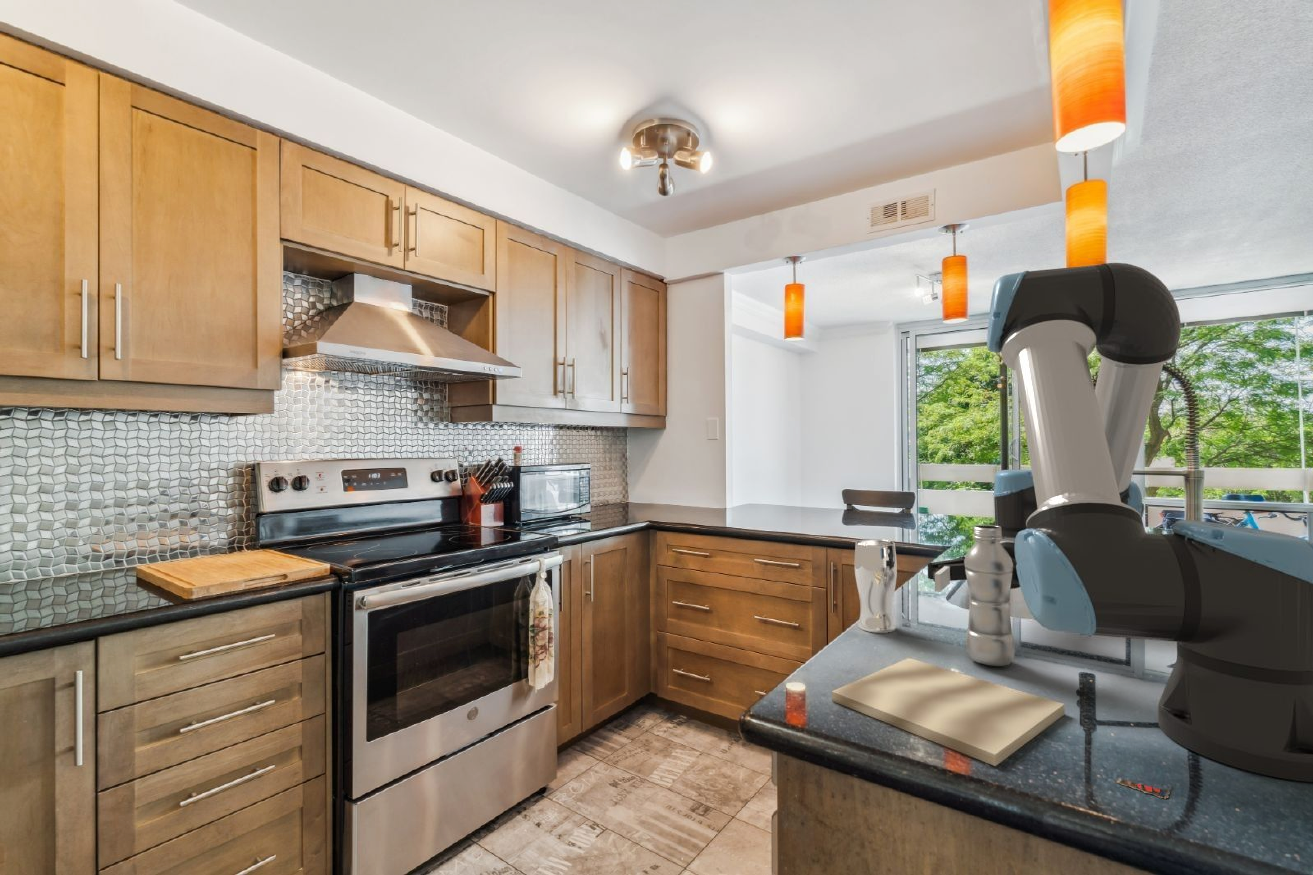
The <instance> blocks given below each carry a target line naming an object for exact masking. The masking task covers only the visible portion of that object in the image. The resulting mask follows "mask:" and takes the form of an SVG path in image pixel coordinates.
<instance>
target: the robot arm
mask: <svg viewBox="0 0 1313 875" xmlns="http://www.w3.org/2000/svg"><path fill="white" fill-rule="evenodd" d="M988 316H989V317H988V324H987V336H986V337H987V340H986V347H987V350H988V351H989V352H992V353H996V354H999V353H1000V354H1001V355H1000V356H1001V360H1002V361H1003V363H1004V365H1005V366H1006V367H1007V368H1008V369H1011V370H1012V371H1015V374H1016V380H1017V381H1016V382H1017V386H1018V387H1017V388H1018V393H1019V398H1020V404H1021V405H1020V406H1021V412H1022V417H1023V425H1024V431H1025V436H1026V443H1027V444H1026V445H1027V449H1028V455H1029V463H1030V468H1031V469H1001V470H999V471H997V472H996V473H995V474H994V481H993V483H994V484H993V485H994V486H993V487H994V489H993V495H992V496H993V501H994V502H993V505H994V506H993V507H994V526H999V527H1001V529H1002V538H1003V540H1001V541H1000V543H1001V545H1002V546H1003V548H1004V549H1005V550H1006V551H1007V553H1008V554H1009V556H1010V557H1011V559H1012V562H1013V571H1012V580H1011V588H1010V590H1012V589H1019V588H1020V591H1021V594H1022V596H1023V600H1024V603H1025V605H1026V607H1027V609H1028V611H1029V613H1030V614H1031V616H1032V617H1033V618H1034V620H1035V621H1036V622H1037V623H1038V624H1039V625H1041V627H1043V628H1045V629H1048V630H1050V631H1054V632H1062V633H1069V634H1075V635H1079V636H1083V637H1092V636H1102V637H1112V638H1113V637H1115V638H1127V639H1139V640H1152V641H1164V642H1176V661H1175V663H1174V665H1173V668H1172V670H1171V673H1170V675H1169V677H1168V680H1167V682H1166V683H1165V686H1164V689H1163V691H1162V694H1161V696H1160V699H1159V701H1158V705H1157V712H1158V714H1157V715H1158V719H1157V720H1158V721H1157V722H1158V727H1159V728H1160V730H1161V731H1162V732H1163V733H1164V734H1165V735H1166V736H1168V738H1170V739H1171V740H1173V741H1174V742H1176V743H1177V744H1179V745H1181V746H1182V747H1184V748H1186V749H1188V750H1190V751H1192V752H1194V753H1197V754H1198V755H1200V756H1203V757H1205V758H1208V759H1211V760H1213V761H1217V762H1219V763H1222V764H1225V765H1228V766H1231V767H1233V768H1238V769H1240V770H1244V771H1247V772H1252V773H1255V774H1260V775H1264V776H1269V777H1273V778H1278V779H1285V780H1291V781H1297V782H1298V781H1299V782H1305V783H1306V782H1308V783H1313V542H1312V541H1310V540H1309V539H1304V538H1302V537H1298V536H1295V535H1291V534H1285V533H1280V532H1275V531H1270V530H1264V529H1259V528H1258V529H1257V528H1252V527H1245V526H1239V525H1232V524H1227V523H1226V524H1225V523H1217V522H1210V521H1200V520H1184V519H1182V520H1181V519H1180V520H1177V521H1175V523H1174V524H1173V525H1174V526H1173V527H1172V528H1171V532H1172V534H1171V533H1149V532H1146V530H1145V525H1144V523H1143V519H1142V518H1143V517H1142V515H1141V514H1142V510H1143V508H1142V506H1143V505H1142V504H1143V497H1142V492H1141V490H1140V487H1139V486H1138V484H1137V483H1136V482H1134V481H1131V480H1132V478H1133V477H1132V476H1133V473H1134V470H1135V465H1136V462H1137V459H1138V457H1139V456H1138V455H1139V451H1140V449H1141V444H1142V441H1143V438H1144V435H1145V432H1146V427H1147V425H1148V424H1147V423H1148V420H1149V416H1150V413H1151V410H1152V405H1153V402H1154V398H1155V396H1156V391H1157V388H1158V384H1159V380H1160V377H1161V374H1162V371H1163V366H1164V364H1165V363H1167V362H1170V360H1172V359H1173V358H1174V357H1175V355H1176V353H1177V349H1178V346H1179V343H1180V338H1181V334H1182V333H1181V331H1182V330H1181V327H1182V326H1181V325H1182V323H1181V315H1180V312H1179V307H1178V305H1177V302H1176V300H1175V298H1174V296H1173V295H1172V293H1171V291H1170V290H1169V288H1168V286H1166V285H1165V284H1164V282H1162V280H1161V279H1159V278H1158V277H1157V276H1156V275H1155V274H1153V273H1151V272H1150V271H1148V270H1146V269H1144V268H1143V267H1140V266H1137V265H1133V264H1130V263H1126V262H1104V263H1101V264H1093V265H1082V266H1081V265H1080V266H1073V267H1062V268H1049V269H1039V270H1024V271H1022V272H1021V271H1020V272H1015V273H1010V274H1005V275H1002V276H1001V277H999V278H998V279H997V280H996V281H995V283H994V284H993V288H992V293H991V300H990V306H989V314H988ZM1094 349H1095V351H1096V353H1097V354H1098V356H1099V357H1101V358H1100V365H1099V368H1098V374H1097V379H1096V383H1095V386H1094V382H1093V376H1092V373H1091V369H1090V364H1089V360H1088V357H1089V356H1090V355H1091V354H1092V353H1093V352H1094ZM965 557H966V556H960V557H958V558H953V559H947V560H941V561H933V562H929V563H927V578H928V580H932V581H933V582H934V592H936V593H937V592H938V593H941V592H942V591H943V590H944V589H945V588H946V587H948V586H949V585H950V584H951V582H954V581H963V580H964V581H967V577H966V571H965V569H966V568H965V564H964V560H965Z"/></svg>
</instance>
